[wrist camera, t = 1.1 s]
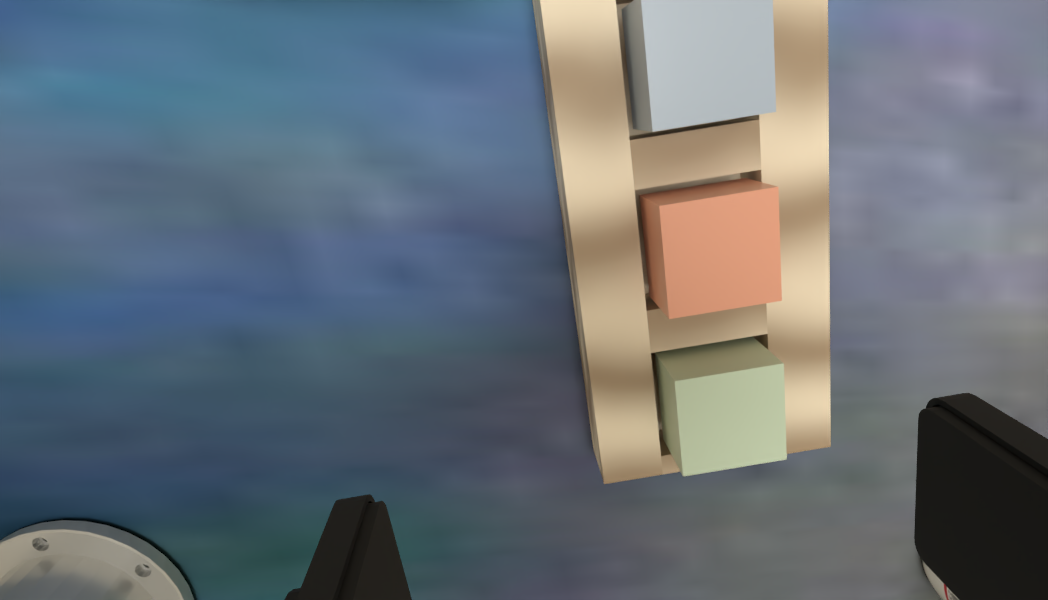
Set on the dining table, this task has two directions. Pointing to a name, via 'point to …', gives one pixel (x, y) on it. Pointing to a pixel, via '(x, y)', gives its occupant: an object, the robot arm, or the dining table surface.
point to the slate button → (698, 61)
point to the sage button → (722, 405)
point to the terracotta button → (712, 246)
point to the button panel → (671, 163)
